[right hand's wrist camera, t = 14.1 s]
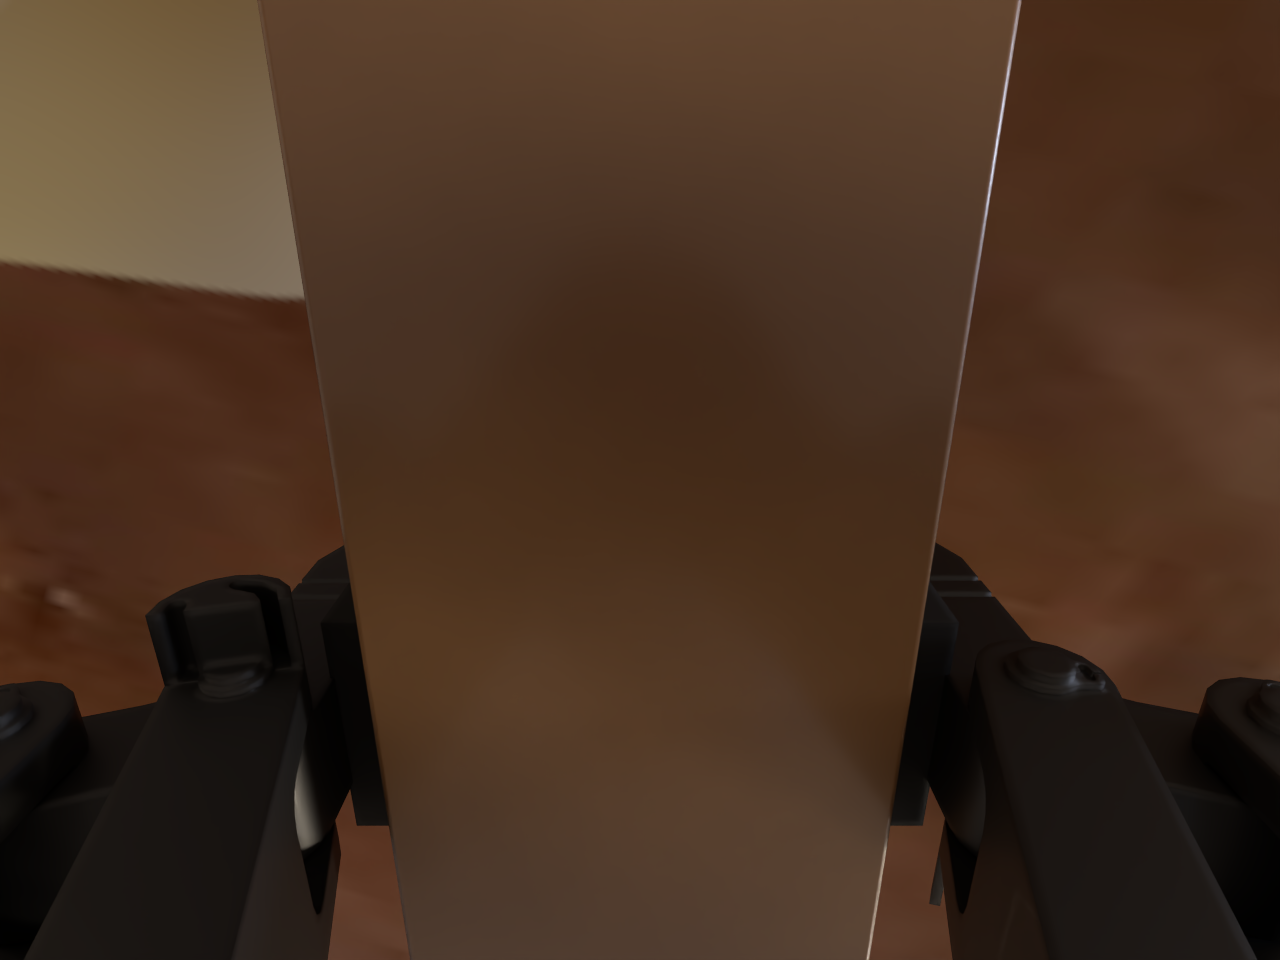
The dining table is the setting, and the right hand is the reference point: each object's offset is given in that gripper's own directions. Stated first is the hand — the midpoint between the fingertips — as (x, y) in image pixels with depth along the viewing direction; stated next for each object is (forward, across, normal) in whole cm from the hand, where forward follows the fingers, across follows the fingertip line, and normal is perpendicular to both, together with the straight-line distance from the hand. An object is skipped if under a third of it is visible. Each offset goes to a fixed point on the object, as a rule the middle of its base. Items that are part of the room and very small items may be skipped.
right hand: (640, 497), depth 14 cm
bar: (+1, 0, -8) cm, 8 cm away
